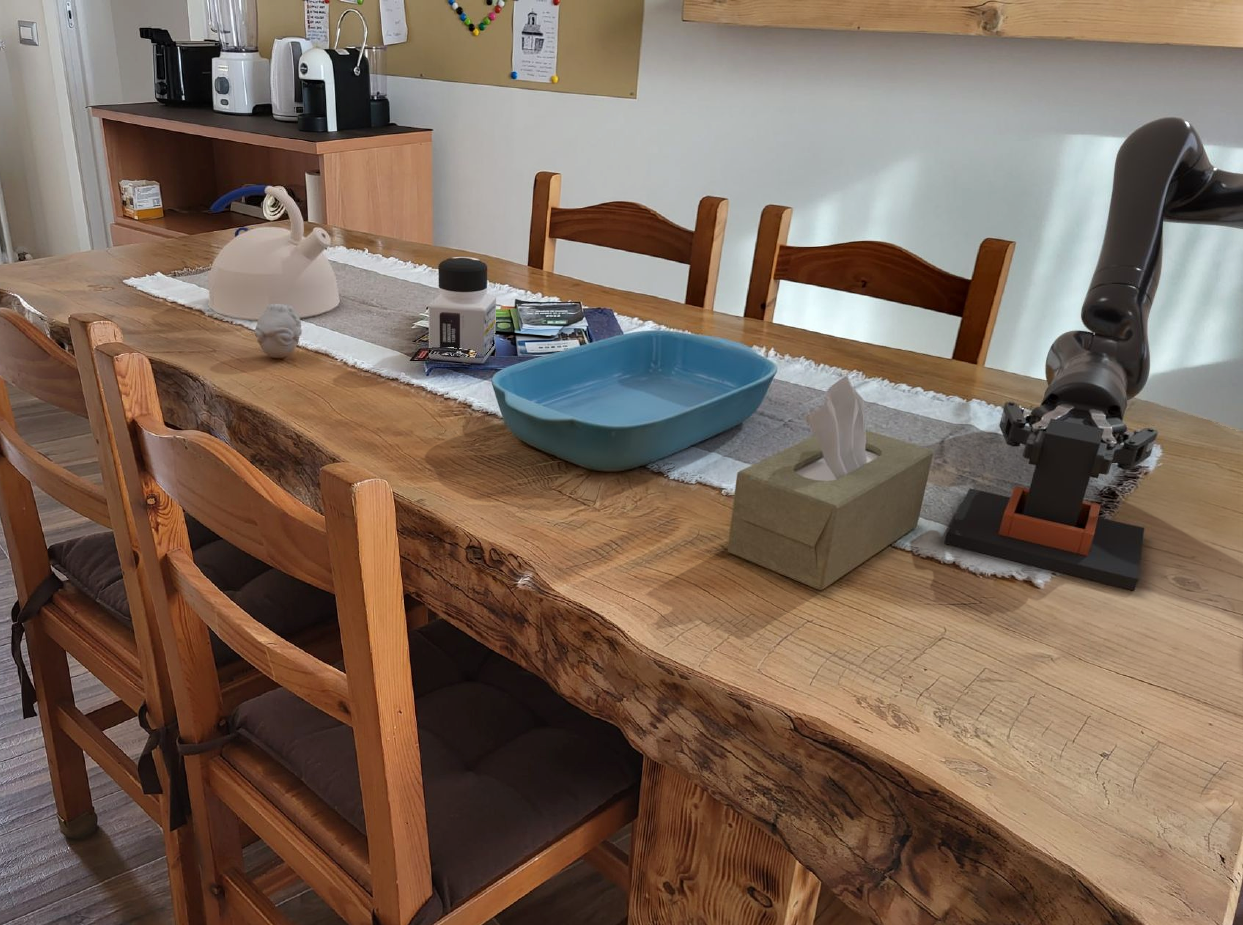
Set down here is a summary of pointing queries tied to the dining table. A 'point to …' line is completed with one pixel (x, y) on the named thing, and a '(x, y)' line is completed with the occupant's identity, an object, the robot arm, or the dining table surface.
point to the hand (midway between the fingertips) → (1065, 460)
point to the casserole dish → (632, 396)
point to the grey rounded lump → (278, 330)
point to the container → (462, 310)
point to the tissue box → (828, 496)
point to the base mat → (1049, 538)
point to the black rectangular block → (1062, 472)
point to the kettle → (272, 266)
